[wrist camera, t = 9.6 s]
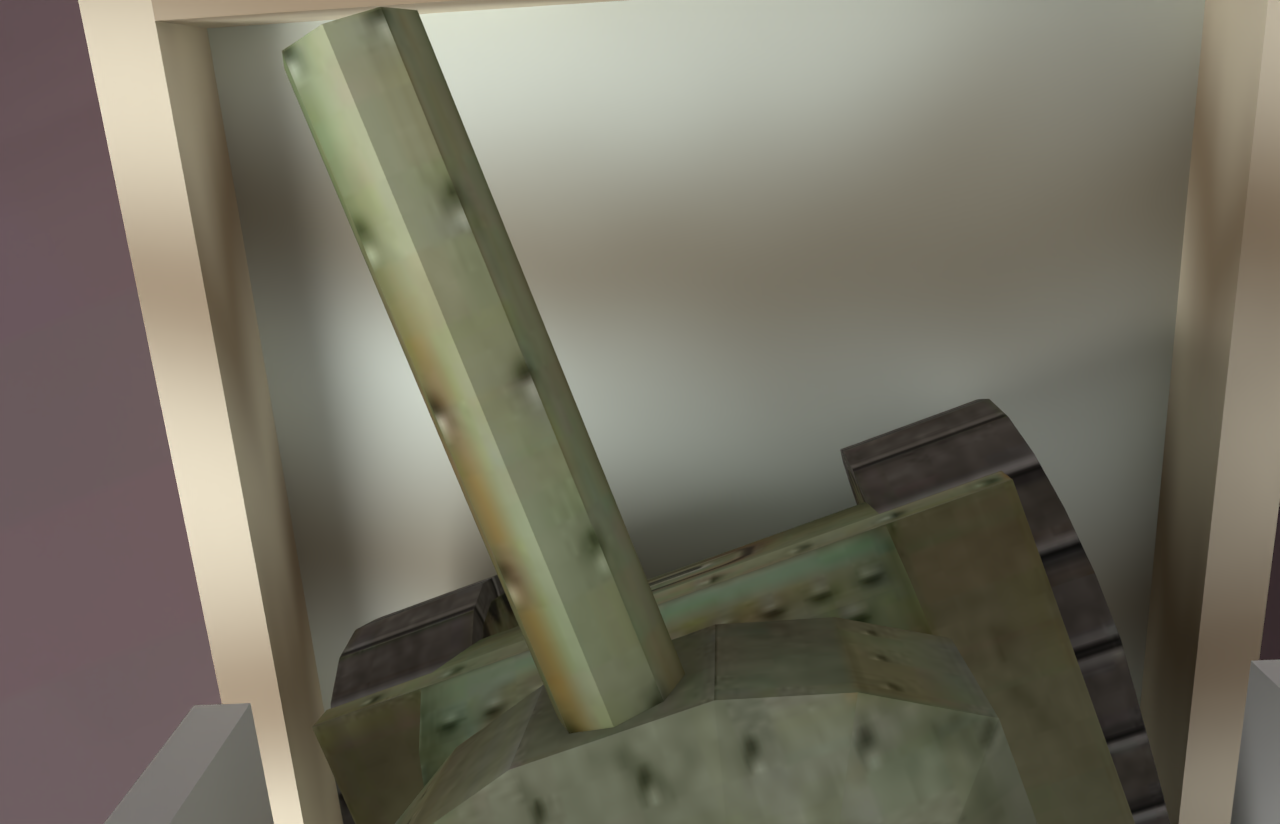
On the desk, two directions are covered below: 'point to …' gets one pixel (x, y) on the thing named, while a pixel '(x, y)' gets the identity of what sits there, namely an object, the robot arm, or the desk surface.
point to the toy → (690, 572)
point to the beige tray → (731, 303)
